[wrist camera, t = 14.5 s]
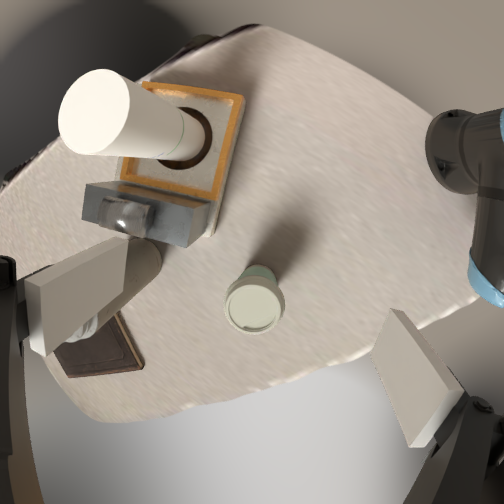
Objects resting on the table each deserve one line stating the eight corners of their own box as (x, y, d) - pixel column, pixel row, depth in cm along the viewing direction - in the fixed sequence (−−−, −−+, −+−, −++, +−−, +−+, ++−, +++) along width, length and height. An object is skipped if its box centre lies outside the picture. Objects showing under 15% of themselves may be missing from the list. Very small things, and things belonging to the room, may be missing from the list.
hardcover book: (43, 317, 60) (38, 321, 58) (112, 297, 57) (107, 302, 55) (73, 374, 64) (69, 379, 61) (145, 365, 60) (141, 371, 58)
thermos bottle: (158, 286, 55) (73, 373, 28) (120, 273, 55) (22, 345, 28) (165, 244, 53) (71, 311, 26) (125, 233, 53) (16, 284, 26)
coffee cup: (231, 301, 54) (220, 334, 43) (234, 253, 52) (222, 277, 40) (280, 306, 54) (281, 341, 42) (286, 258, 52) (288, 283, 40)
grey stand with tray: (246, 103, 46) (230, 68, 29) (214, 233, 51) (184, 263, 34) (145, 88, 46) (92, 58, 29) (118, 209, 52) (59, 226, 35)
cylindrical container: (155, 125, 44) (53, 94, 20) (197, 109, 43) (120, 54, 19) (167, 167, 46) (67, 168, 21) (210, 152, 45) (138, 132, 20)
